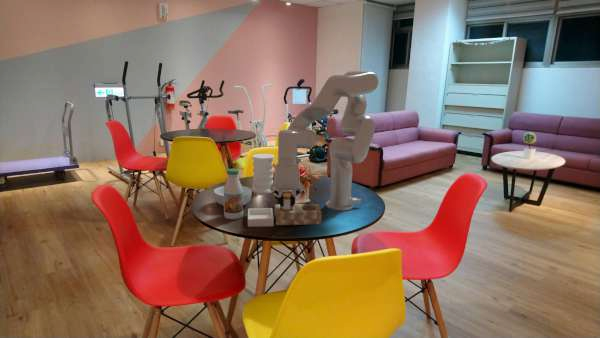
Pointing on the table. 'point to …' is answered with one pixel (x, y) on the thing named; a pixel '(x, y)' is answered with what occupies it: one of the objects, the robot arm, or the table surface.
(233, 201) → the milk bottle
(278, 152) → the robot arm
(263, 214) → the tray
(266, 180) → the decorative container
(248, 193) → the cereal bowl
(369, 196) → the table surface
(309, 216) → the socket block
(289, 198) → the pin
